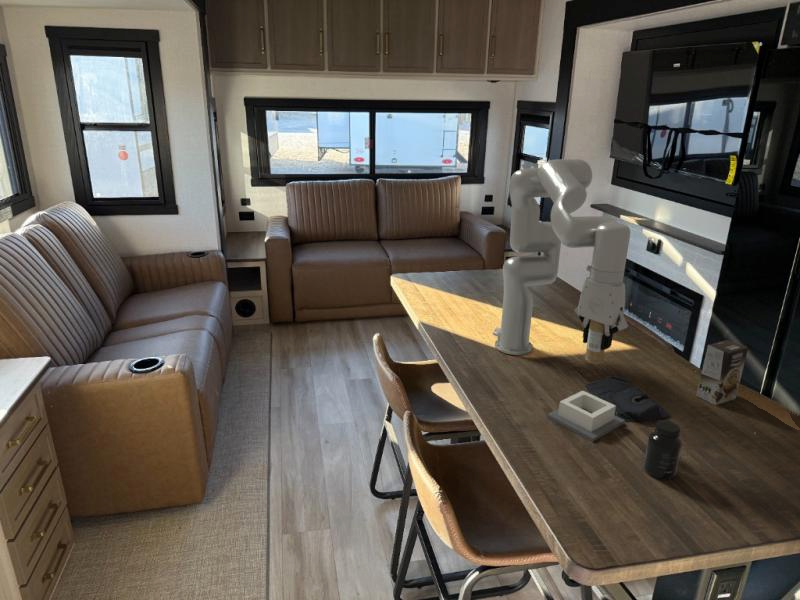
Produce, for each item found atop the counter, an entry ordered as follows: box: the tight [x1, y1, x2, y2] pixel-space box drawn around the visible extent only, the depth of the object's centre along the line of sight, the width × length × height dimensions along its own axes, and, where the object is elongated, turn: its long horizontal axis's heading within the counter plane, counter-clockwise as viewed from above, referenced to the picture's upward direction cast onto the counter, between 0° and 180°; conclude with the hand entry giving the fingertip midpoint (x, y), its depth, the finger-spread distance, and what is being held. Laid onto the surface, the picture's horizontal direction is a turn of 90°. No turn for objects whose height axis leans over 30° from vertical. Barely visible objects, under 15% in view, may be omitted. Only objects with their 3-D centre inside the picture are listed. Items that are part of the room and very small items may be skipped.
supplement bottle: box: [643, 419, 683, 481], centre depth 127 cm, size 7×7×12 cm
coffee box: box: [696, 339, 749, 406], centre depth 160 cm, size 9×6×16 cm
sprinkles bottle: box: [584, 320, 605, 365], centre depth 141 cm, size 5×5×14 cm
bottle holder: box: [546, 390, 626, 443], centre depth 148 cm, size 14×14×5 cm
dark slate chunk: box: [584, 375, 670, 424], centre depth 159 cm, size 15×22×5 cm
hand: (596, 344), depth 142 cm, fingers closed on sprinkles bottle, 4 cm apart
